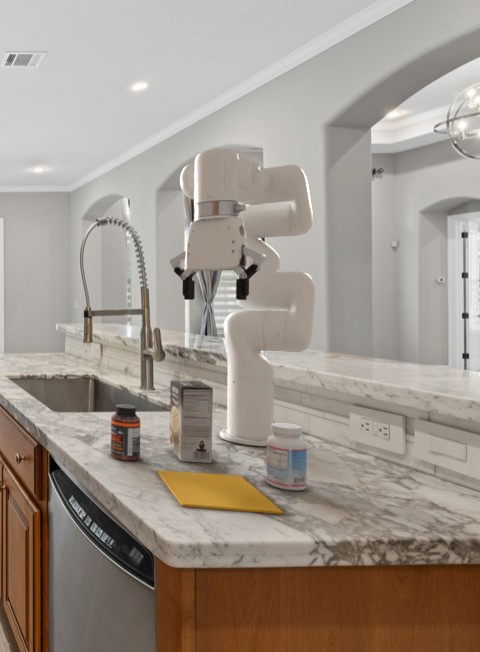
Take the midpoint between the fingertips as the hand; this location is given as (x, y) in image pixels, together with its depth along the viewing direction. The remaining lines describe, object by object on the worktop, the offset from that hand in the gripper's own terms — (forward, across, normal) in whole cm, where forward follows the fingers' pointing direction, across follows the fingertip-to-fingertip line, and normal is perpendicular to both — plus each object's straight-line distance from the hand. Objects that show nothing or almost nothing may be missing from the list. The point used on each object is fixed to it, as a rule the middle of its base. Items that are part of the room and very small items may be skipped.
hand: (214, 299), depth 108 cm
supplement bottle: (+35, +16, +4) cm, 38 cm away
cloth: (+35, -5, +11) cm, 36 cm away
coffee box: (+35, +8, -8) cm, 36 cm away
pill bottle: (+35, -12, -3) cm, 37 cm away
